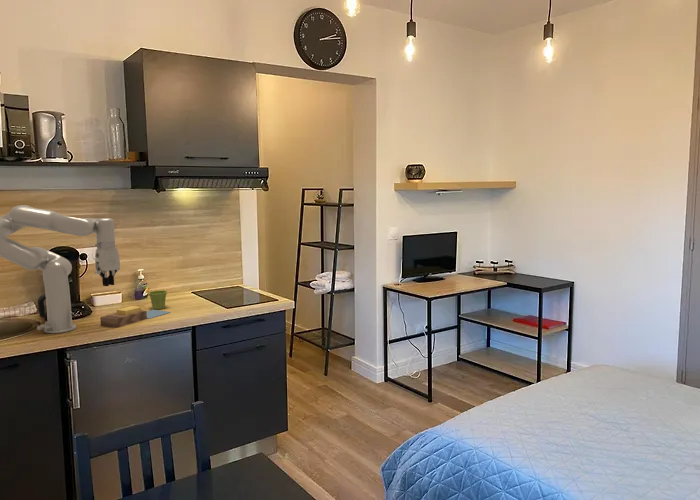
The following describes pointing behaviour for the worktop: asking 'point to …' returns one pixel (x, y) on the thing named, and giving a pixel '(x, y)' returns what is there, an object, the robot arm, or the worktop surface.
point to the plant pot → (158, 299)
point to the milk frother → (41, 305)
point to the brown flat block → (122, 319)
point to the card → (128, 310)
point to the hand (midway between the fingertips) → (108, 285)
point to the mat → (155, 313)
